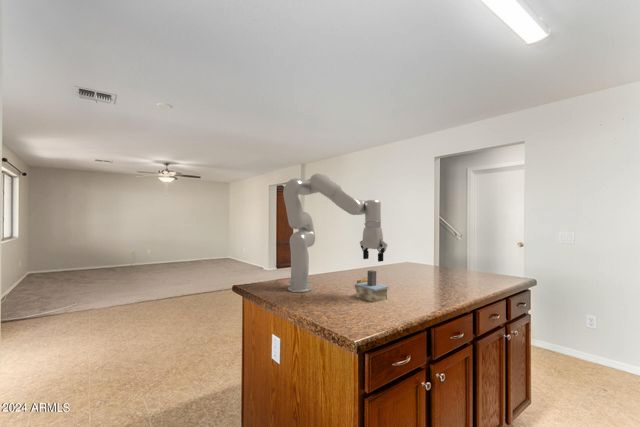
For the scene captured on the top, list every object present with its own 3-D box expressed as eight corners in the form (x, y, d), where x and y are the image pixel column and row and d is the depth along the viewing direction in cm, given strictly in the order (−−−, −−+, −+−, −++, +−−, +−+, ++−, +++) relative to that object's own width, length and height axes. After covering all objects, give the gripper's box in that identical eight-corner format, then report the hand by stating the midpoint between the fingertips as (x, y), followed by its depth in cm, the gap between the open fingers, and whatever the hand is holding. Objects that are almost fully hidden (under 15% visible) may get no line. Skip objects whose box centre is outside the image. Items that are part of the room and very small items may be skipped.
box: (356, 297, 159) (356, 285, 159) (368, 294, 164) (369, 283, 164) (374, 303, 149) (374, 290, 149) (387, 300, 155) (387, 288, 155)
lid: (355, 285, 159) (355, 269, 159) (369, 282, 165) (369, 267, 165) (374, 291, 149) (374, 274, 149) (388, 288, 155) (389, 272, 155)
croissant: (382, 301, 166) (388, 286, 167) (367, 293, 163) (374, 279, 164) (361, 290, 186) (367, 277, 187) (348, 283, 182) (354, 270, 183)
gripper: (355, 224, 161) (355, 258, 161) (381, 226, 147) (381, 263, 147) (365, 224, 165) (365, 257, 166) (391, 225, 152) (392, 261, 152)
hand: (373, 260), depth 156 cm, fingers open, 9 cm apart
